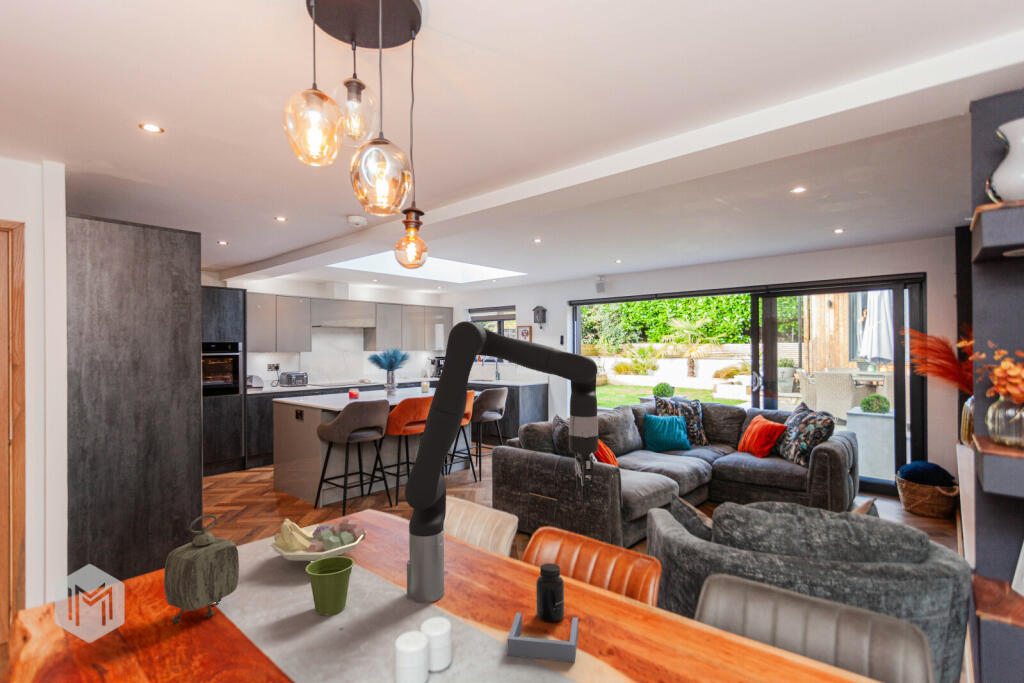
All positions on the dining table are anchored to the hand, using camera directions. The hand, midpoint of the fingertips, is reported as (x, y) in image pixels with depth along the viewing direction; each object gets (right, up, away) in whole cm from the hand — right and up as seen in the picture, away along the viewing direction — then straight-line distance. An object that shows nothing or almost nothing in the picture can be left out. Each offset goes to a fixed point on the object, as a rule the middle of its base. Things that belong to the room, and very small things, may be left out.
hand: (583, 495), depth 132 cm
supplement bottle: (-9, -28, -6) cm, 30 cm away
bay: (-11, -28, -18) cm, 34 cm away
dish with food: (-79, -30, +30) cm, 90 cm away
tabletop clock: (-96, -29, -3) cm, 100 cm away
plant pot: (-65, -29, -1) cm, 71 cm away
